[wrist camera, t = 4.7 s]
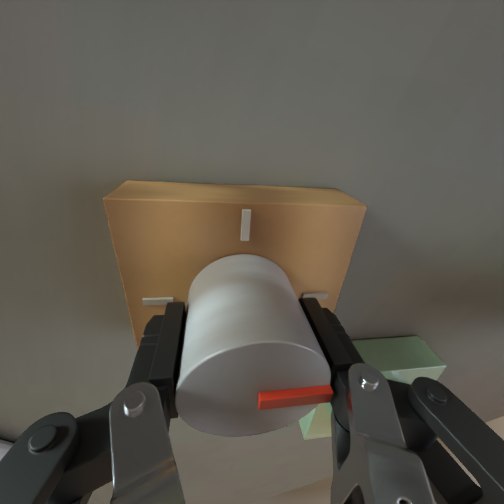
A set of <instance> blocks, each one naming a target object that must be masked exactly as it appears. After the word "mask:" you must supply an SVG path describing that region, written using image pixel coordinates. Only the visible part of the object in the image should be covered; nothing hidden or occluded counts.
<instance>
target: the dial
mask: <svg viewBox="0 0 504 504" xmlns="http://www.w3.org/2000/svg"><path fill="white" fill-rule="evenodd" d="M330 384H331V370H330V367H329V365H328V362H327V360H326V358H325V356H324V354H323V352H322V350H321V347H320V345H319V343H318V341H317V339H316V337H315V335H314V333H313V330H312V328H311V326H310V324H309V322H308V320H307V318H306V315H305V313H304V311H303V309H302V307H301V305H300V303H299V301H298V298H297V296H296V294H295V292H294V290H293V288H292V286H291V283H290V281H289V279H288V277H287V275H286V274H285V272H284V271H283V270H282V269H281V268H280V267H279V266H278V265H277V264H275V263H274V262H272V261H271V260H268V259H266V258H264V257H260V256H256V255H249V254H240V255H232V256H227V257H224V258H221V259H219V260H216V261H214V262H213V263H211V264H209V265H208V266H207V267H205V268H204V269H203V270H202V271H201V272H200V273H199V274H198V275H197V276H196V278H195V279H194V281H193V282H192V284H191V287H190V290H189V295H188V302H187V309H186V316H185V324H184V331H183V338H182V346H181V353H180V360H179V367H178V375H177V382H176V389H175V406H176V410H177V412H178V414H179V416H180V417H181V418H182V419H183V420H184V421H185V422H186V423H187V424H188V425H190V426H192V427H193V428H195V429H197V430H199V431H202V432H205V433H208V434H213V435H219V436H231V437H237V436H251V435H257V434H262V433H266V432H270V431H274V430H277V429H280V428H282V427H285V426H287V425H289V424H292V423H294V422H295V421H297V420H299V419H301V418H302V417H304V416H306V415H307V414H308V413H310V412H311V411H312V410H313V409H314V408H316V407H317V406H318V405H319V404H320V403H329V402H330V401H331V399H332V396H333V394H334V393H333V390H332V388H331V386H330Z"/></svg>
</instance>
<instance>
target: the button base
mask: <svg viewBox="0 0 504 504" xmlns="http://www.w3.org/2000/svg"><path fill="white" fill-rule="evenodd" d="M351 341H352V343H353V344H354V346H355V348H356V349H357V351H358V352H359V354H360V356H361V357H362V359H363V360H364V362H365V363H366V364H368V365H370V366H372V367H374V368H376V369H377V370H379V371H380V372H381V373H382V374H383V375H384V377H385V378H386V379H389V380H393V381H397V382H402V383H406V384H412V382H413V381H414V379H415V378H417V377H428V378H431V379H434V380H437V379H438V378H439V376H440V375H441V373H442V372H443V371H444V369H445V368H446V367H447V365H446V364H445V363H444V362H443V361H442V360H441V359H440V358H439V357H438V356H437V355H436V354H435V352H434V351H433V350H432V349H431V348H430V347H429V346H428V345H427V344H426V343H425V342H424V341H423V340H422V339H421V338H420V337H419V336H409V337H395V338H380V339H366V340H351ZM332 409H333V408H332V406H331V404H330V402H329V403H320V404H319V405H318V406H317V407H316V408H314V409H313V410H312V411H311V412H310V413H308V414H307V415H306V416H304V417H302V418H301V419H299V423H300V427H301V430H302V434H303V437H304V440H306V439H314V438H321V437H328V436H332V434H331V411H332Z"/></svg>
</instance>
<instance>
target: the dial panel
mask: <svg viewBox="0 0 504 504" xmlns="http://www.w3.org/2000/svg"><path fill="white" fill-rule="evenodd" d="M103 202H104V207H105V211H106V215H107V220H108V224H109V228H110V233H111V237H112V241H113V246H114V250H115V254H116V259H117V263H118V267H119V272H120V276H121V280H122V285H123V289H124V293H125V298H126V302H127V306H128V311H129V315H130V319H131V324H132V328H133V332H134V337H135V341H136V345H137V350H138V348H139V347H140V342H141V339H142V337H143V332H144V329H145V326H146V324H147V323H148V322H149V321H150V319H151V318H152V317H153V316H154V315H164V313H165V309H166V305H167V303H168V302H185V306H186V309H187V302H188V295H189V290H190V287H191V284H192V282H193V281H194V279H195V278H196V276H197V275H198V274H199V273H200V272H201V271H202V270H203V269H204V268H205V267H207V266H208V265H209V264H211V263H213V262H214V261H216V260H219V259H221V258H224V257H227V256H232V255H240V254H249V255H256V256H260V257H264V258H266V259H268V260H271V261H272V262H274V263H275V264H277V265H278V266H279V267H280V268H281V269H282V270H283V271H284V272H285V274H286V275H287V277H288V279H289V281H290V283H291V286H292V288H293V290H294V292H295V294H296V296H297V298H298V299H299V298H308V297H315V298H316V299H317V300H318V302H319V304H320V306H321V307H322V308H328V309H329V310H330V311H331V312H332V313H333V314H334V311H335V307H336V304H337V301H338V298H339V295H340V292H341V288H342V285H343V282H344V279H345V276H346V273H347V270H348V266H349V263H350V260H351V257H352V254H353V251H354V247H355V244H356V241H357V238H358V235H359V232H360V229H361V225H362V222H363V219H364V216H365V213H366V210H367V205H365V204H363V203H361V202H360V201H358V200H356V199H354V198H353V197H351V196H349V195H347V194H346V193H344V192H342V191H340V190H339V189H327V188H302V187H278V186H253V185H229V184H204V183H179V182H155V181H130V180H127V181H126V182H124V183H123V184H122V185H120V186H119V187H117V188H116V189H115V190H113V191H112V192H111V193H109V194H108V195H107V196H105V197H104V198H103Z"/></svg>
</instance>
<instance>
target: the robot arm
mask: <svg viewBox="0 0 504 504" xmlns="http://www.w3.org/2000/svg"><path fill="white" fill-rule="evenodd" d="M298 301H299V303H300V305H301V307H302V309H303V311H304V313H305V315H306V318H307V320H308V322H309V324H310V326H311V328H312V330H313V333H314V335H315V337H316V339H317V341H318V343H319V345H320V347H321V350H322V352H323V354H324V356H325V358H326V360H327V362H328V365H329V367H330V370H331V384H330V386H331V388H332V390H333V393H334V394H333V396H332V399H331V401H330V404H331V406H332V408H333V409H332V411H331V434H332V454H333V480H332V486H331V504H504V441H503V440H502V438H500V437H499V436H498V435H497V434H496V433H495V432H494V431H493V430H492V429H491V428H490V427H489V426H488V425H486V424H485V423H484V422H483V421H482V420H481V419H480V418H479V417H478V416H477V415H476V414H475V413H474V412H472V411H471V410H470V409H469V408H468V407H467V406H466V405H465V404H464V403H463V402H462V401H461V400H460V399H458V398H457V397H456V396H455V395H454V394H453V393H452V392H451V391H450V390H449V389H448V388H446V387H445V386H444V385H442V384H441V383H439V382H438V381H436V380H434V379H431V378H428V377H417V378H415V379H414V381H413V382H412V384H406V383H402V382H397V381H393V380H389V379H386V378H385V377H384V375H383V374H382V373H381V372H380V371H379V370H377V369H376V368H374V367H372V366H370V365H368V364H366V363H365V362H364V360H363V359H362V357H361V356H360V354H359V352H358V351H357V349H356V348H355V346H354V344H353V343H352V341H351V340H350V338H349V336H348V335H347V334H346V331H345V330H344V328H343V327H342V326H341V323H340V322H339V320H338V319H337V317H336V315H335V314H333V313H332V312H331V311H330V310H329V309H328V308H322V307H321V306H320V304H319V302H318V300H317V299H316V298H315V297H308V298H299V299H298ZM185 316H186V306H185V302H168V303H167V305H166V309H165V313H164V315H154V316H153V317H152V318H151V319H150V321H149V322H148V323H147V324H146V326H145V329H144V332H143V337H142V339H141V342H140V347H139V348H138V351H137V354H136V357H135V361H134V364H133V367H132V370H131V373H130V376H129V379H128V382H127V385H126V387H125V388H124V389H123V390H122V391H121V392H120V393H119V394H118V395H117V396H116V397H115V398H114V400H113V401H112V402H111V403H109V404H108V405H106V406H104V407H102V408H100V409H98V410H95V411H93V412H90V413H88V414H85V415H83V416H80V417H78V418H74V416H72V415H71V414H69V413H66V412H57V413H53V414H50V415H47V416H45V417H43V418H41V419H39V420H38V421H36V422H35V423H33V424H32V425H31V426H30V427H29V428H27V429H26V430H25V431H24V432H23V433H22V435H21V436H20V437H19V438H18V439H17V441H16V442H15V443H14V444H13V446H12V447H11V448H10V449H9V451H8V452H7V453H6V454H5V456H4V457H3V458H2V459H1V461H0V504H87V503H88V501H89V498H90V496H91V494H92V492H93V491H94V490H96V489H97V488H99V487H101V486H103V485H105V484H107V483H109V482H111V481H113V496H112V498H111V501H110V504H185V500H184V496H183V491H182V487H181V483H180V479H179V474H178V470H177V466H176V463H175V459H174V456H173V451H172V447H171V443H170V439H169V434H168V433H169V426H170V418H178V412H177V410H176V406H175V389H176V382H177V375H178V367H179V360H180V353H181V346H182V338H183V331H184V324H185ZM438 438H440V439H441V440H442V441H443V442H444V444H445V445H446V446H447V447H448V448H449V449H450V450H451V452H452V453H453V454H454V455H455V456H456V457H457V458H458V459H459V461H460V462H461V463H462V464H463V465H464V466H465V467H466V468H467V470H468V471H469V472H470V473H471V474H472V475H473V476H474V477H475V479H476V480H477V481H478V483H479V484H480V487H481V488H480V487H479V486H477V485H476V484H475V483H474V482H473V481H472V480H471V479H470V477H469V476H468V475H467V474H466V473H465V472H464V470H463V469H462V468H461V467H460V466H459V465H458V464H457V462H456V461H455V460H454V459H453V458H452V457H451V456H450V454H449V453H448V452H447V451H446V450H445V449H444V448H443V447H442V445H441V444H440V443H439V442H438V441H437V439H438ZM435 502H436V503H435Z"/></svg>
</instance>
